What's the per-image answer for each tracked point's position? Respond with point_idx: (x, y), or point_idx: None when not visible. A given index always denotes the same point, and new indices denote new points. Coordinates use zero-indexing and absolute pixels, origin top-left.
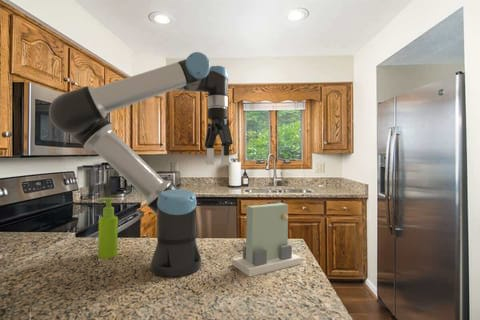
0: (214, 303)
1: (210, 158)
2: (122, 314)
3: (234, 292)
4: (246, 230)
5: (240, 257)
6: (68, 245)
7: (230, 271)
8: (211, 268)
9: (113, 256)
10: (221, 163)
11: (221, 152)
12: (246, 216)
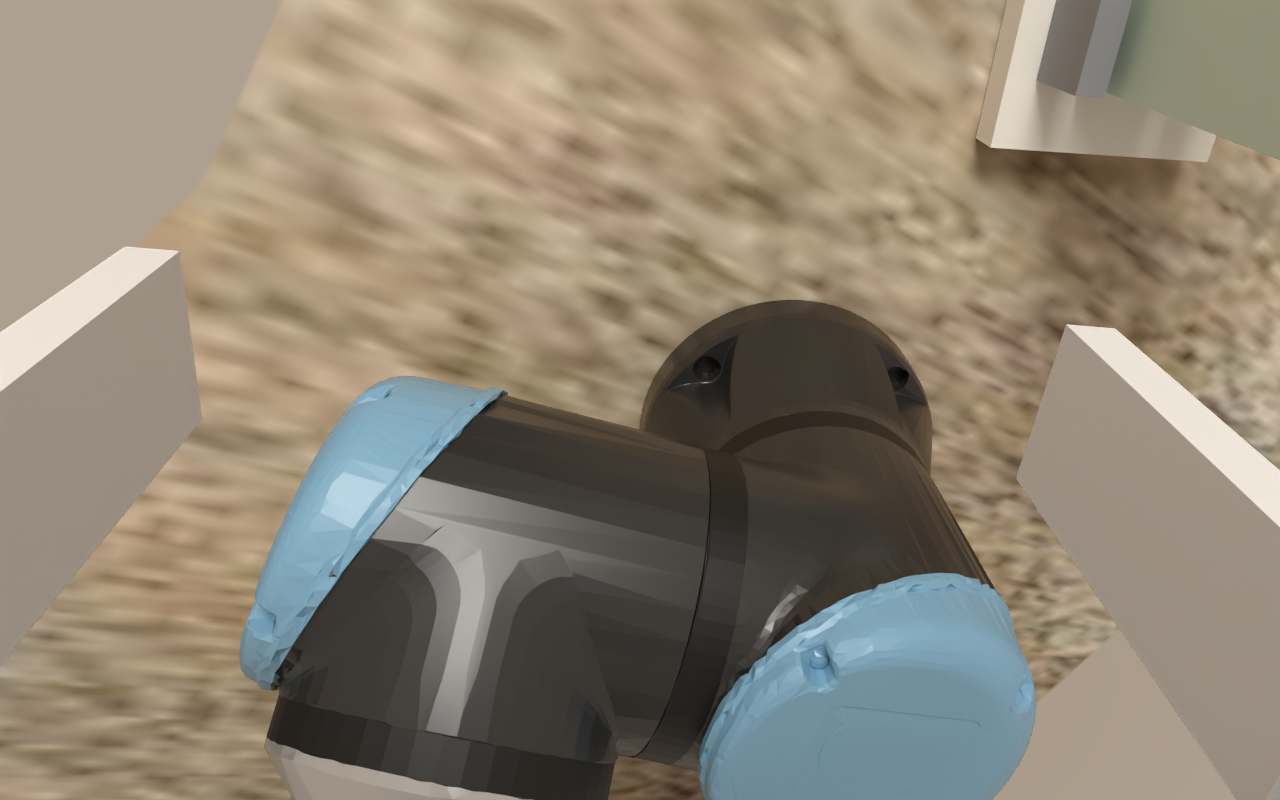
0: (1237, 433)
1: (110, 421)
2: (1045, 689)
3: (1240, 319)
4: (1199, 127)
5: (1011, 82)
6: (104, 788)
7: (1042, 204)
8: (926, 277)
9: None
10: (1042, 498)
11: (1162, 677)
12: (1274, 157)
